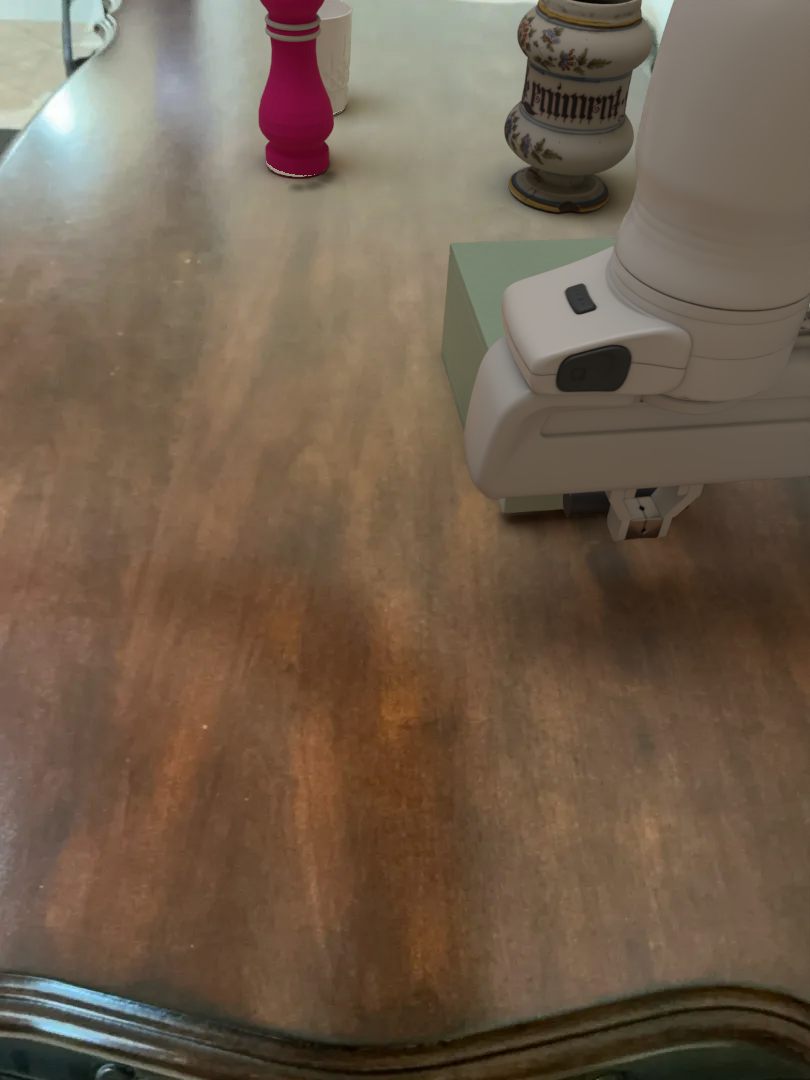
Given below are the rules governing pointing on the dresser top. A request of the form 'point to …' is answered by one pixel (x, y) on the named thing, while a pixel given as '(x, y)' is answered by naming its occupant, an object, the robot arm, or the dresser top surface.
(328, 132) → the pepper mill
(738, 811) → the dresser top surface
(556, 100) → the apothecary jar
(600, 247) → the green drawer cabinet
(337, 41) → the white cup
